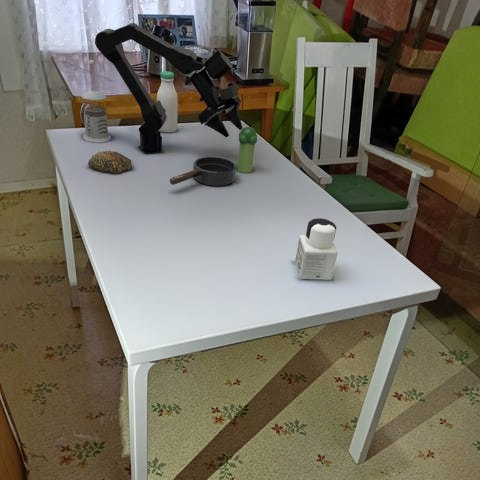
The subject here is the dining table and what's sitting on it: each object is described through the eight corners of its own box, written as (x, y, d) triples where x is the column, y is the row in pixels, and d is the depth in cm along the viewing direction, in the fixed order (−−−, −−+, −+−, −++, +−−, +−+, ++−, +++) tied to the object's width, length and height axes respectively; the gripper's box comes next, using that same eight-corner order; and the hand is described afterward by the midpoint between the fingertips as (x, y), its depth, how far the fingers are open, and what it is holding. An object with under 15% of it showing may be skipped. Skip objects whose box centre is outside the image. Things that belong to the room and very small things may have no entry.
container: (294, 262, 129) (303, 214, 121) (324, 263, 130) (335, 215, 122) (299, 279, 123) (309, 230, 115) (331, 280, 124) (343, 231, 116)
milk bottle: (180, 128, 199) (181, 72, 187) (171, 134, 193) (172, 76, 181) (162, 124, 200) (162, 68, 188) (153, 130, 195) (152, 72, 182)
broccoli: (244, 175, 169) (249, 132, 160) (229, 168, 172) (233, 125, 164) (259, 171, 173) (264, 128, 164) (244, 164, 176) (248, 122, 168)
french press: (117, 136, 186) (113, 60, 171) (96, 145, 177) (90, 66, 162) (94, 130, 189) (88, 54, 173) (73, 139, 180) (65, 60, 165)
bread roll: (82, 167, 162) (81, 151, 159) (108, 156, 171) (107, 140, 168) (116, 177, 158) (115, 161, 155) (140, 165, 167) (140, 150, 164)
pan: (205, 189, 158) (205, 175, 155) (186, 172, 166) (186, 158, 163) (242, 183, 163) (243, 170, 161) (222, 168, 172) (223, 154, 169)
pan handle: (199, 173, 160) (199, 167, 158) (203, 175, 159) (204, 169, 158) (168, 184, 151) (168, 177, 150) (172, 186, 150) (173, 179, 149)
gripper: (208, 78, 152) (238, 125, 155) (238, 68, 166) (265, 112, 169) (185, 101, 160) (214, 145, 163) (215, 89, 173) (241, 131, 176)
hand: (234, 132), depth 167 cm, fingers open, 9 cm apart
